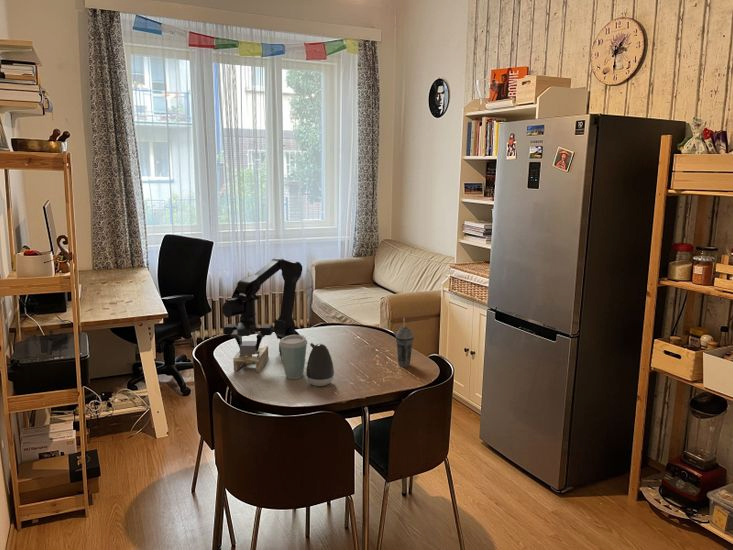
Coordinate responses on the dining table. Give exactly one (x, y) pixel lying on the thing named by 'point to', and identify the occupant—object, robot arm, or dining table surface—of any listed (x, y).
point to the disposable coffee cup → (293, 355)
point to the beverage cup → (404, 345)
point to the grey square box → (248, 349)
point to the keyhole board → (252, 358)
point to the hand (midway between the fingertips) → (249, 350)
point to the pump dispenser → (319, 366)
